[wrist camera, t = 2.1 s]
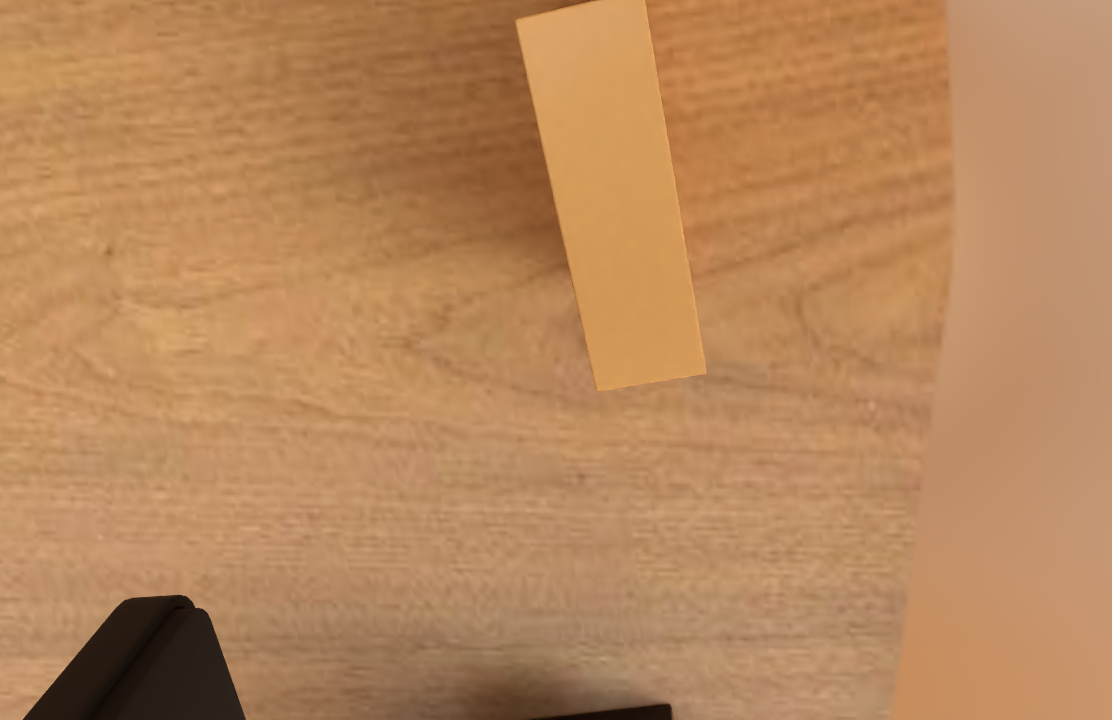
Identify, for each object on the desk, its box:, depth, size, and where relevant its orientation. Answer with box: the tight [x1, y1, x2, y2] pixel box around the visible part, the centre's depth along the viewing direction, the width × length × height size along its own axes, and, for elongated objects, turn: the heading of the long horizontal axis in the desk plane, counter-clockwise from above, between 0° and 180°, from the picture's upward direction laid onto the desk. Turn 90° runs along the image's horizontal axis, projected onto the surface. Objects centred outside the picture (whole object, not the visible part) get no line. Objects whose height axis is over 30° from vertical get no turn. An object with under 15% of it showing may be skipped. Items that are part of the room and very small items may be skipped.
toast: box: [515, 0, 707, 391], centre depth 21 cm, size 2×8×8 cm, turn 12°
